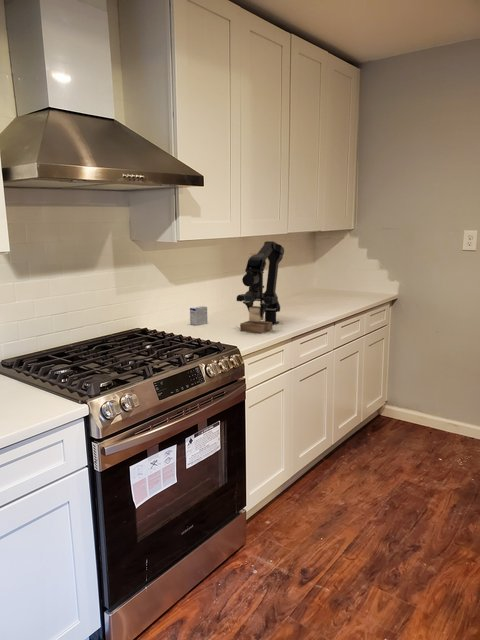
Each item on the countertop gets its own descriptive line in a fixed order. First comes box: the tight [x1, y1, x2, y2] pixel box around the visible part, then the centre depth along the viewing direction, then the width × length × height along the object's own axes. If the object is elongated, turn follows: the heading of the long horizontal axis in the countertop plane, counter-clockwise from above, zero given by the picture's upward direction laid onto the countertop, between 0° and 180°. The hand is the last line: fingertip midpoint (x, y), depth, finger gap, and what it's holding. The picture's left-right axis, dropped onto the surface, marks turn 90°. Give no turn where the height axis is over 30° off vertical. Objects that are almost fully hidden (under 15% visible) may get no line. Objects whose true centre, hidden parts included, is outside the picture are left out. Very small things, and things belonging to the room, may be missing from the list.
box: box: [189, 305, 209, 327], centre depth 255 cm, size 8×4×9 cm, turn 136°
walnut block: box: [239, 320, 273, 335], centre depth 241 cm, size 11×11×4 cm
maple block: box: [248, 305, 265, 321], centre depth 239 cm, size 5×5×6 cm
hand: (256, 317), depth 240 cm, fingers closed on maple block, 5 cm apart
